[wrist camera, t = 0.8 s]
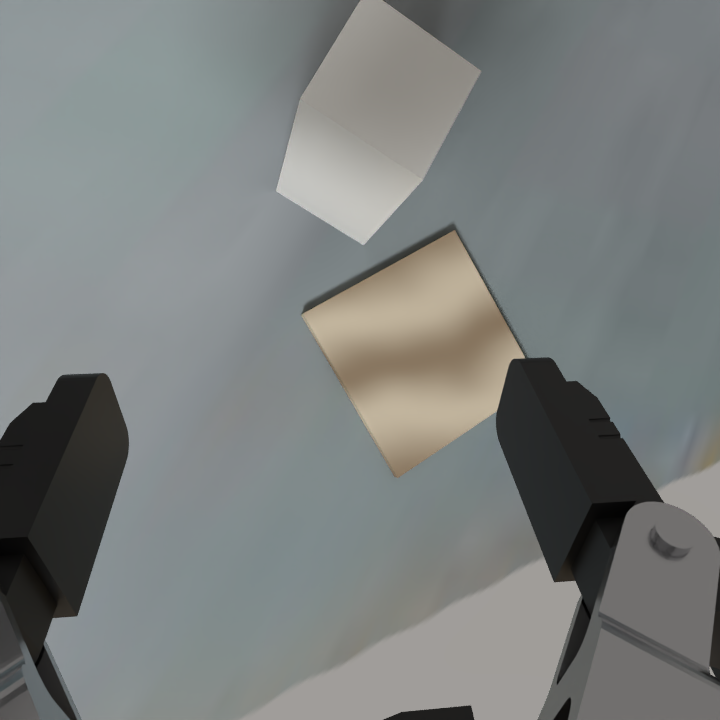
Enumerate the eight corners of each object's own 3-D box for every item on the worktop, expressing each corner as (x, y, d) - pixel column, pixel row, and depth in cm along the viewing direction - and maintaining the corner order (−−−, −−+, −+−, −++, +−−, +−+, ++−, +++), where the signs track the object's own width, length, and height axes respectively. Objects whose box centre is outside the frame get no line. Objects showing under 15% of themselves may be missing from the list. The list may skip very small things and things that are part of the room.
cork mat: (301, 315, 31) (302, 313, 31) (450, 232, 34) (454, 229, 34) (394, 476, 32) (397, 477, 32) (533, 382, 35) (538, 382, 34)
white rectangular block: (276, 191, 32) (299, 98, 22) (324, 110, 33) (367, -11, 23) (363, 245, 33) (422, 179, 23) (407, 165, 34) (481, 71, 24)
